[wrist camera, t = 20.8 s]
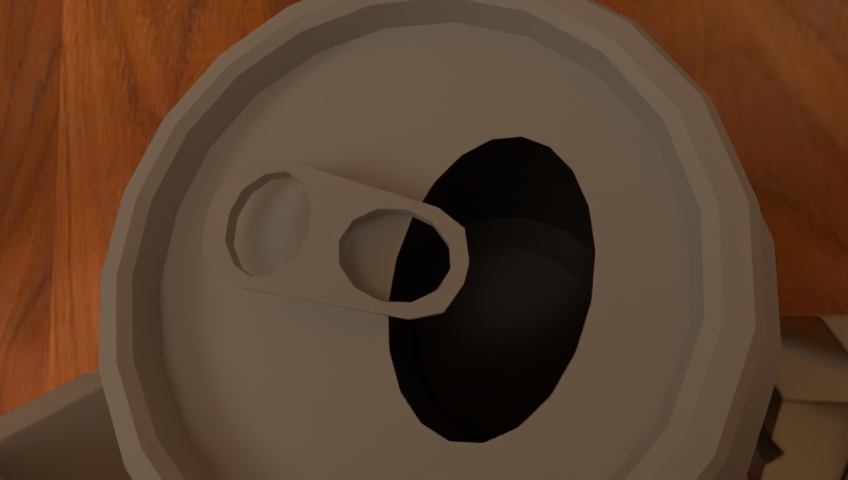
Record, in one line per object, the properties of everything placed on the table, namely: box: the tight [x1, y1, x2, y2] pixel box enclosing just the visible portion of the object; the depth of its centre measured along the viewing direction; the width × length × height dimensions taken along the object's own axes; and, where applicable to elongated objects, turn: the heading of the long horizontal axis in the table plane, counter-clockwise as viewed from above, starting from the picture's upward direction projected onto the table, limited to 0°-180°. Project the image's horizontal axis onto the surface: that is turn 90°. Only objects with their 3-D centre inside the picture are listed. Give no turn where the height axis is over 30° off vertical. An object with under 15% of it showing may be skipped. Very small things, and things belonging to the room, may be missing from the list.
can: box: [99, 0, 782, 480], centre depth 10 cm, size 8×8×12 cm
